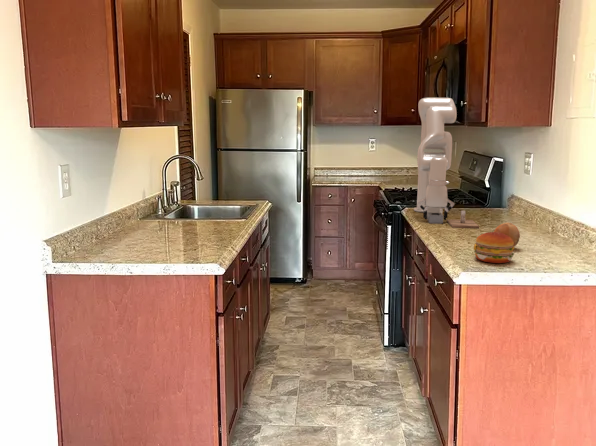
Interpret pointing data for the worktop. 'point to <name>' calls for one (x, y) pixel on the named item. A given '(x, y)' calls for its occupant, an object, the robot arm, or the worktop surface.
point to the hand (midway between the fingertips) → (435, 219)
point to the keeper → (462, 222)
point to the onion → (509, 231)
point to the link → (435, 218)
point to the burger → (494, 247)
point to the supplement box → (434, 210)
